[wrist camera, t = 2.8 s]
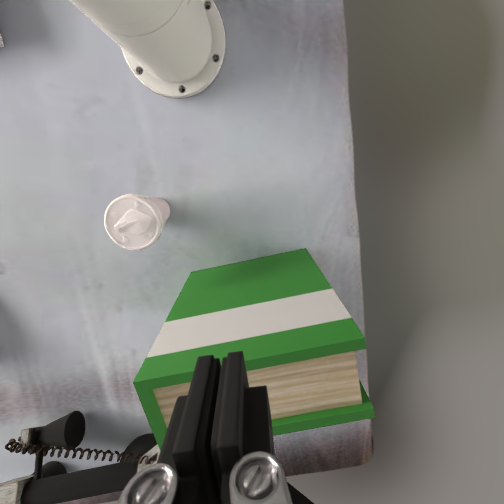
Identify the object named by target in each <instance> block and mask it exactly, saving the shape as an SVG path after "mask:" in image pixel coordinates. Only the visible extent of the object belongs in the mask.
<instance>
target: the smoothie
mask: <svg viewBox="0 0 504 504" xmlns="http://www.w3.org/2000/svg"><path fill="white" fill-rule="evenodd" d="M169 215H170V208H169V205H168V204H167V202H166V201H164V200H163V199H161V198H155V197H143V196H140V195H137V194H128V195H123V196H121V197H119V198H117V199H115V200H113V201H112V202H111V203H110V204H109V206H108V207H107V209H106V212H105V216H104V224H105V228H106V231H107V233H108V235H109V236H110V238H111V239H112V240H113V241H114V242H115V243H116V244H118V245H119V246H121V247H123V248H125V249H129V250H142V249H145V248H147V247H149V246H151V245H153V244H154V243H155V242H156V241H157V240H158V238H159V237H160V235H161V232H162V228H163V225H164V224H165V222H166V221H167V219H168V217H169Z"/></svg>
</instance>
